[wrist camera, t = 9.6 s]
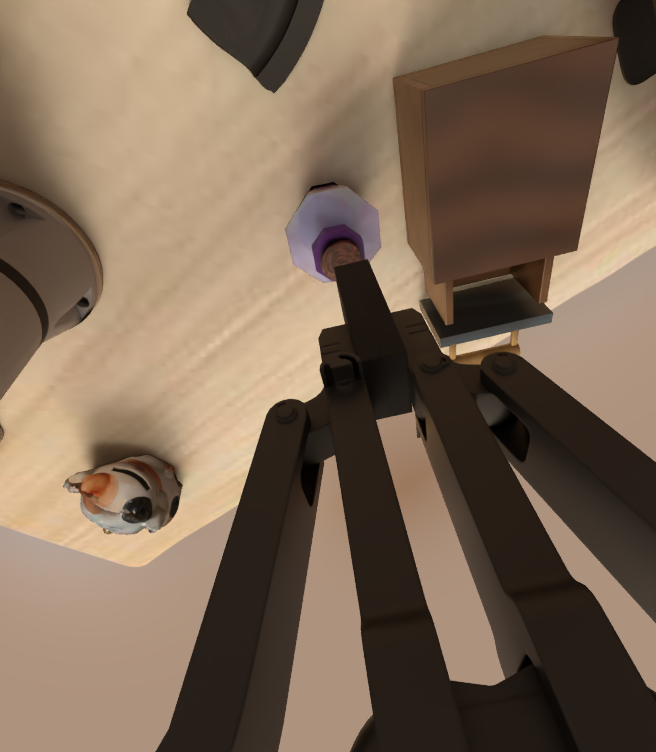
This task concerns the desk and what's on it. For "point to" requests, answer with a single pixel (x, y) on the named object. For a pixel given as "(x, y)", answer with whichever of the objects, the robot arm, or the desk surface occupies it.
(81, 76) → the desk surface
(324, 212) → the potion bottle
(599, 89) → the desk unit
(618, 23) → the laptop stand
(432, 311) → the drawer
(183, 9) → the desk surface
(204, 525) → the desk surface
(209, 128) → the desk surface
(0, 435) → the travel mug
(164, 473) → the lucky cat figurine
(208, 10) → the dark sector wedge
